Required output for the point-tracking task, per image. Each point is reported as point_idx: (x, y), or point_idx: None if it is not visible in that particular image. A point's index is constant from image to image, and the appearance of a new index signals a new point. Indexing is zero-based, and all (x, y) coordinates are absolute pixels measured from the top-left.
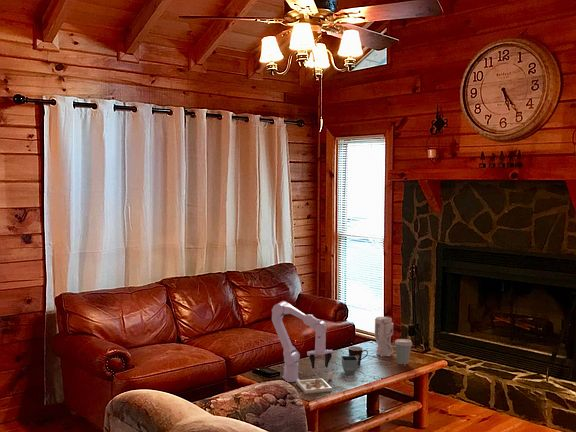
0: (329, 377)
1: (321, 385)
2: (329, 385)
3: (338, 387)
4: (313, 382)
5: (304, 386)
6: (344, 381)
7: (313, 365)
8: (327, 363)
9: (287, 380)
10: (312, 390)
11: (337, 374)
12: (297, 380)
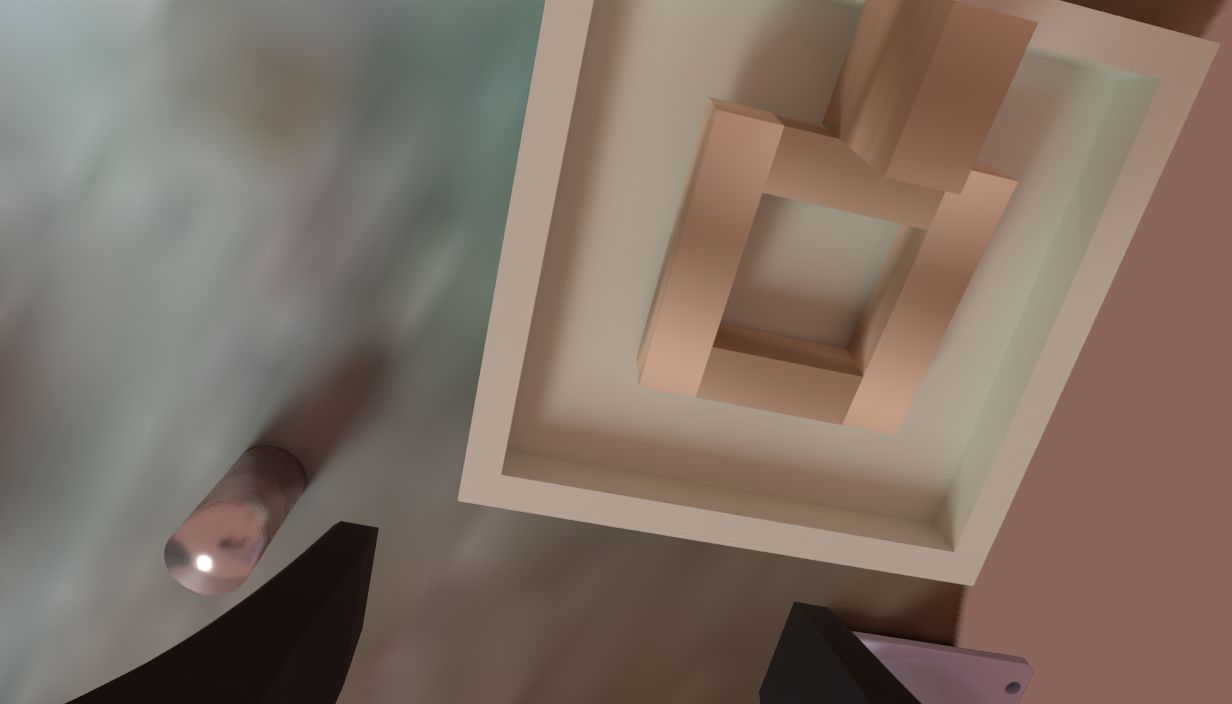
0: (275, 493)
1: (739, 108)
2: (539, 50)
3: (296, 45)
4: (777, 358)
5: (947, 360)
6: (5, 298)
7: (876, 668)
8: (301, 595)
9: (999, 697)
10: (1050, 3)
11: (5, 647)
12: (958, 582)
